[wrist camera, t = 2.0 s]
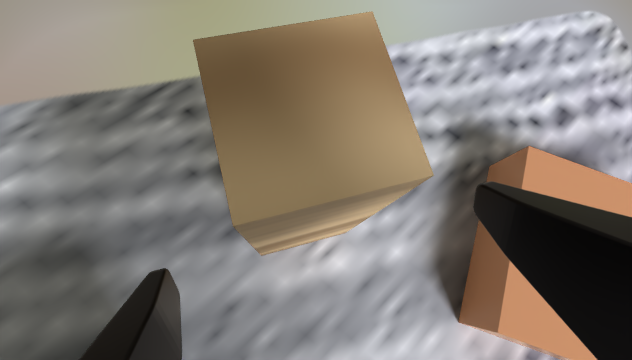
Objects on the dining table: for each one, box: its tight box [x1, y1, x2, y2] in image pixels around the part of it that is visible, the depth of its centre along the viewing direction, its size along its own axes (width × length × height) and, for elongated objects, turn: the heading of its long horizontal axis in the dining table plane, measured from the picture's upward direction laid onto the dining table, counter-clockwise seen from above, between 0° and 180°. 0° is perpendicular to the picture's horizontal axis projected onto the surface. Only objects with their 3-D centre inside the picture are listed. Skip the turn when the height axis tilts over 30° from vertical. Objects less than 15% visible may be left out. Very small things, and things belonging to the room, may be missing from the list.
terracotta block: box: [458, 146, 632, 360], centre depth 19 cm, size 10×10×4 cm
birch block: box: [193, 12, 434, 256], centre depth 14 cm, size 5×5×12 cm
